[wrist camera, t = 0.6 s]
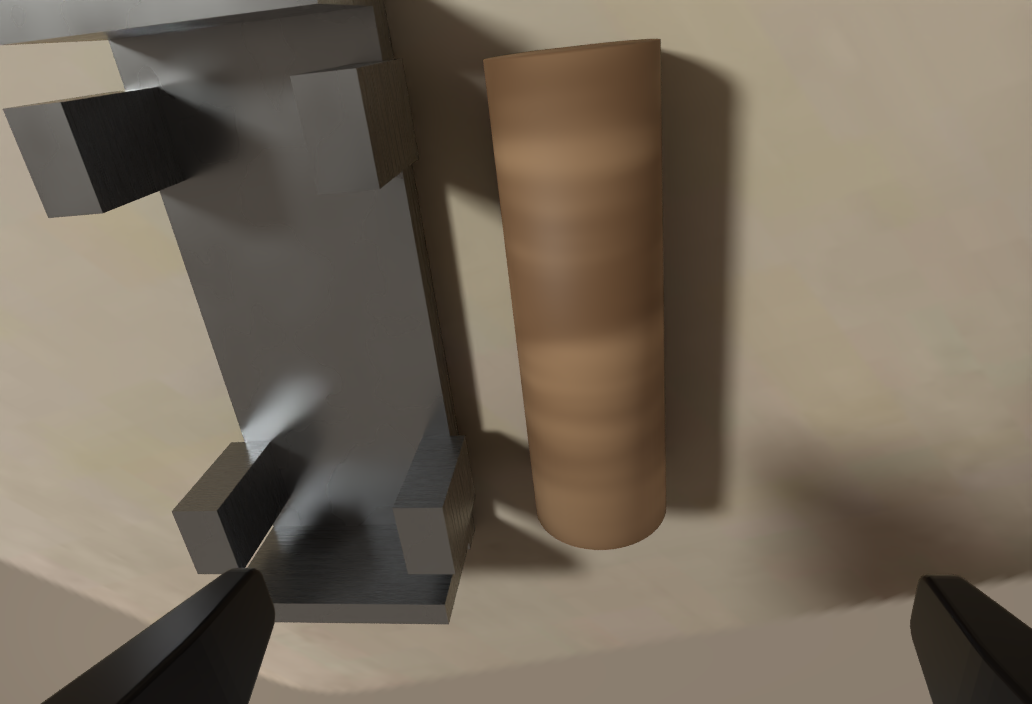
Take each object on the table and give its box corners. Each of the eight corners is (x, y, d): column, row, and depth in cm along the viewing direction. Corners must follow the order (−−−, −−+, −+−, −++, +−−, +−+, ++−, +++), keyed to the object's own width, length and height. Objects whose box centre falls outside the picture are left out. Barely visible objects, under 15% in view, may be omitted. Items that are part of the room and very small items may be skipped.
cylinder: (489, 55, 17) (475, 64, 14) (647, 37, 17) (675, 41, 13) (537, 470, 23) (535, 553, 19) (655, 462, 22) (676, 546, 19)
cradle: (395, -47, 16) (329, -68, 12) (488, 529, 24) (466, 631, 20) (100, -6, 17) (-49, -12, 13) (280, 531, 25) (220, 628, 21)
